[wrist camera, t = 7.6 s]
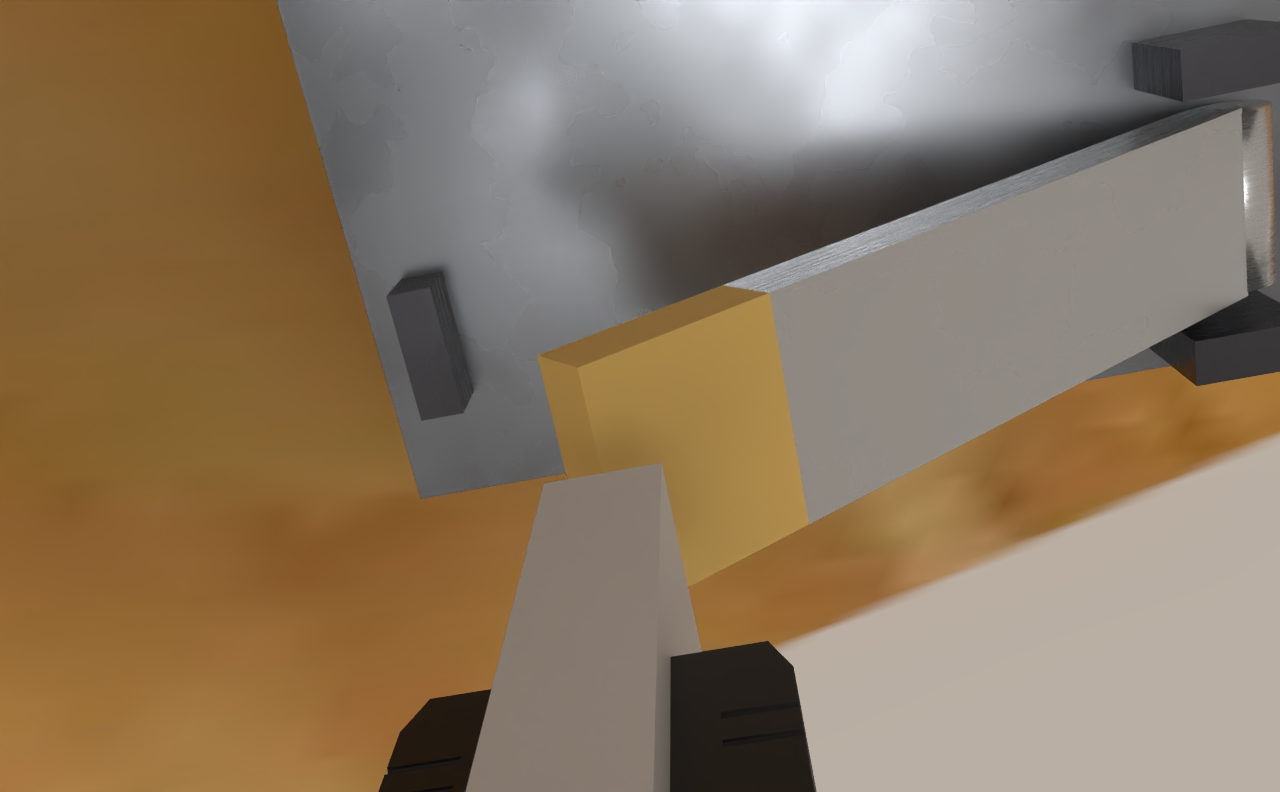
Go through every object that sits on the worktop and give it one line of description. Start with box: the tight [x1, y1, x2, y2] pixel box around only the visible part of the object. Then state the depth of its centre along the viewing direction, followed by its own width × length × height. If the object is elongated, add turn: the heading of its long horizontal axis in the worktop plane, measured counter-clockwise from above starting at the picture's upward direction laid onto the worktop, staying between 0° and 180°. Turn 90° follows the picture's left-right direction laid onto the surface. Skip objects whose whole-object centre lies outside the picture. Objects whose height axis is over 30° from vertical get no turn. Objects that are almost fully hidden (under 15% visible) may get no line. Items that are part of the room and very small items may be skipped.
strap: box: [537, 99, 1276, 587], centre depth 22 cm, size 17×4×2 cm
